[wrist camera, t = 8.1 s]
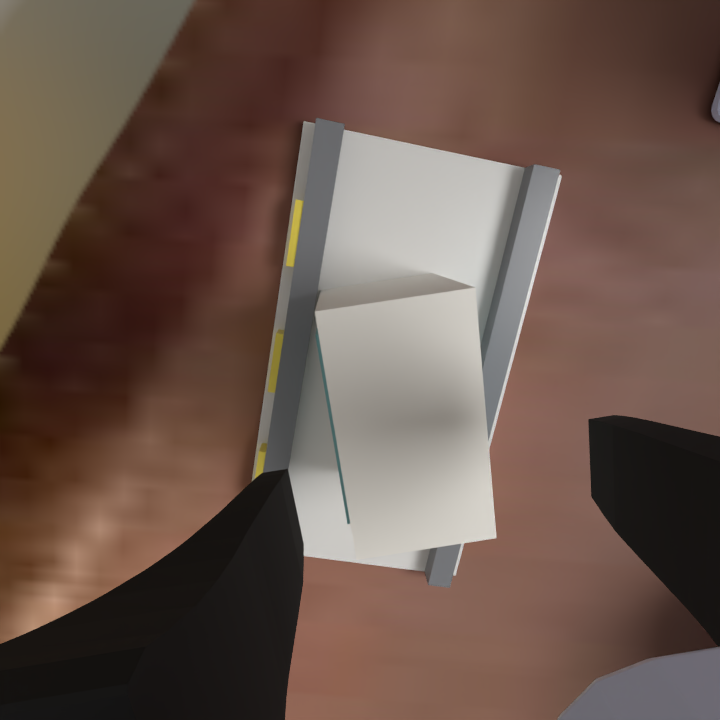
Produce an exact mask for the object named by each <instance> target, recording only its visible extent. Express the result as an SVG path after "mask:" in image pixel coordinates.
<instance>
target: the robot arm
mask: <svg viewBox="0 0 720 720" xmlns="http://www.w3.org/2000/svg"><path fill="white" fill-rule="evenodd" d="M711 113H712V117H713V118H714V119H715V121H717V122H719V123H720V83H719V86H718V89H717V92H716V95H715V98H714V101H713V104H712V110H711ZM589 445H590V471H591V497H592V498H593V500H594V501H595V503H596V504H597V506H598V507H599V509H600V510H601V512H602V513H603V515H604V516H605V517H606V519H607V520H608V522H609V523H610V524H611V526H612V527H613V528H614V530H615V531H616V532H617V533H618V535H619V536H620V537H621V538H622V539H623V540H624V541H625V542H626V543H627V545H628V546H629V547H630V548H631V549H632V550H633V551H634V552H635V553H636V554H637V555H638V557H639V558H640V559H641V560H642V561H643V562H644V563H645V564H646V565H647V566H648V567H649V568H650V569H651V570H652V572H653V573H654V574H655V575H656V576H657V577H658V578H659V579H660V580H661V581H662V582H663V583H664V584H665V585H666V587H667V588H668V589H669V590H670V591H671V592H672V593H673V594H674V595H675V596H676V597H677V598H678V599H679V600H680V602H681V603H682V604H683V605H684V606H685V607H686V608H687V609H688V610H689V611H690V612H691V614H692V615H693V616H694V617H695V618H696V619H697V621H698V622H699V623H700V624H701V625H702V626H703V627H704V629H705V630H706V631H707V632H708V634H709V635H710V636H711V638H712V639H713V640H714V642H715V643H716V644H717V645H718V647H714V648H708V649H702V650H696V651H690V652H684V653H678V654H672V655H666V656H660V657H654V658H648V659H646V660H643V661H640V662H638V663H635V664H633V665H630V666H627V667H625V668H622V669H620V670H617V671H615V672H612V673H609V674H607V675H604V676H602V677H599V678H597V679H595V680H594V681H593V682H592V683H591V684H590V685H589V686H588V687H587V688H586V689H585V690H584V691H583V692H582V693H581V694H580V695H579V696H578V697H577V698H576V699H575V700H574V701H573V702H572V703H571V704H570V705H569V706H568V707H567V708H566V709H565V710H564V711H563V712H562V713H561V714H560V716H559V717H558V719H557V720H720V437H719V436H714V435H710V434H705V433H701V432H696V431H692V430H688V429H683V428H679V427H675V426H670V425H666V424H662V423H657V422H653V421H648V420H643V419H638V418H633V417H627V416H617V415H613V416H606V417H600V418H594V419H589ZM303 566H304V543H303V538H302V533H301V528H300V524H299V519H298V514H297V510H296V505H295V500H294V495H293V491H292V486H291V481H290V476H289V472H288V469H283V470H277V471H270V472H264V473H262V474H260V475H259V476H258V477H256V478H255V479H254V480H253V481H252V482H251V483H250V484H249V485H248V486H247V487H246V488H245V489H244V490H243V491H242V492H241V493H239V494H238V495H237V496H236V497H235V498H234V499H233V500H232V501H231V502H230V503H229V504H228V505H227V506H226V507H225V508H224V509H223V510H222V511H220V512H219V513H218V514H217V515H216V516H215V517H214V518H212V519H211V520H210V521H209V522H208V523H207V524H205V525H204V526H203V527H202V528H201V529H200V530H198V531H197V532H196V533H195V534H194V535H193V536H191V537H190V538H189V539H188V540H187V541H185V542H184V543H183V544H181V545H180V546H179V547H177V548H176V549H175V550H173V551H172V552H171V553H169V554H168V555H166V556H165V557H164V558H162V559H161V560H159V561H158V562H156V563H155V564H154V565H152V566H151V567H149V568H148V569H146V570H145V571H143V572H141V573H140V574H138V575H136V576H135V577H133V578H131V579H130V580H128V581H126V582H125V583H123V584H121V585H120V586H118V587H116V588H115V589H113V590H111V591H109V592H108V593H106V594H104V595H103V596H101V597H99V598H97V599H95V600H94V601H92V602H90V603H88V604H86V605H84V606H82V607H80V608H78V609H76V610H74V611H73V612H70V613H68V614H66V615H64V616H62V617H60V618H58V619H56V620H54V621H52V622H50V623H48V624H46V625H44V626H41V627H39V628H37V629H35V630H33V631H30V632H28V633H26V634H24V635H21V636H19V637H16V638H14V639H11V640H9V641H7V642H4V643H2V644H0V720H285V709H286V696H287V687H288V678H289V671H290V664H291V658H292V652H293V645H294V639H295V632H296V626H297V620H298V613H299V607H300V600H301V593H302V586H303Z"/></svg>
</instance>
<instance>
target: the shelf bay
mask: <svg viewBox="0 0 720 720" xmlns="http://www.w3.org/2000/svg"><path fill="white" fill-rule="evenodd" d="M344 125H345V124H343V123H338V122H333V121H328V120H324V119H319V118H316V123H310V122H306V121H304V123H303V129H302V136H301V143H300V150H299V157H298V164H297V171H296V178H295V185H294V192H293V199H292V205H291V212H290V219H289V226H288V233H287V240H286V247H285V254H284V261H283V268H282V274H281V281H280V288H279V295H278V302H277V309H276V316H275V323H274V330H273V337H272V344H271V350H270V357H269V364H268V371H267V378H266V385H265V392H264V399H263V406H262V413H261V420H260V426H259V433H258V440H257V447H256V454H255V461H254V468H253V475H252V481H253V480H254V479H255V478H256V477H258V476H259V475H260V474H262V473H264V472H270V471H277V470H283V469H288V472H289V476H290V481H291V486H292V491H293V495H294V500H295V505H296V510H297V514H298V519H299V524H300V528H301V533H302V538H303V543H304V556H309V557H316V558H324V559H332V560H340V561H347V562H355V563H363V564H370V565H378V566H386V567H394V568H401V569H409V570H417V571H425V575H426V579H427V582H428V585H433V586H441V587H449V588H450V584H451V581H452V577H453V575H455V576H456V572H457V568H458V564H459V561H460V557H461V553H462V549H463V546H464V543H462V544H455V545H449V546H443V547H436V548H430V549H424V550H417V551H411V552H404V553H398V554H392V555H385V556H379V557H373V558H366V559H360V560H356V554H355V548H354V542H353V536H352V530H351V524H347V519H346V513H345V507H344V501H343V495H342V489H341V483H340V477H339V472H338V466H337V460H336V454H335V448H334V442H333V436H332V430H331V425H330V419H329V413H328V407H327V401H326V395H325V389H324V383H323V378H322V372H321V366H320V360H319V354H318V348H317V342H316V336H315V334H316V329H317V323H316V317H315V309H316V305H317V302H318V299H319V295H320V292H321V290H324V289H331V288H337V287H344V286H351V285H357V284H364V283H371V282H377V281H384V280H391V279H397V278H404V277H411V276H417V275H424V274H431V273H434V274H437V275H440V276H443V277H446V278H449V279H452V280H455V281H458V282H461V283H464V284H467V285H470V286H473V287H475V288H476V300H477V312H478V324H479V336H480V348H481V360H482V372H483V384H484V396H485V407H486V419H487V431H488V443H489V448H490V444H491V440H492V437H493V433H494V429H495V425H496V422H497V418H498V414H499V410H500V407H501V403H502V399H503V395H504V392H505V388H506V384H507V380H508V377H509V373H510V369H511V365H512V362H513V358H514V354H515V350H516V347H517V343H518V339H519V335H520V332H521V328H522V324H523V320H524V317H525V313H526V309H527V305H528V302H529V298H530V294H531V290H532V287H533V283H534V279H535V275H536V272H537V268H538V264H539V260H540V257H541V253H542V249H543V245H544V242H545V238H546V234H547V230H548V227H549V223H550V219H551V215H552V211H553V208H554V204H555V200H556V196H557V193H558V189H559V185H560V181H561V178H562V176H561V175H559V173H560V170H559V169H554V168H550V167H545V166H540V165H535V164H534V165H531V166H529V167H526V168H523V167H518V166H514V165H509V164H504V163H499V162H495V161H490V160H485V159H480V158H476V157H471V156H466V155H462V154H457V153H452V152H447V151H443V150H438V149H433V148H428V147H424V146H419V145H414V144H410V143H405V142H400V141H395V140H391V139H386V138H381V137H376V136H372V135H367V134H362V133H358V132H353V131H348V130H344Z"/></svg>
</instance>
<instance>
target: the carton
mask: <svg viewBox="0 0 720 720" xmlns="http://www.w3.org/2000/svg"><path fill="white" fill-rule="evenodd" d="M315 317H316V323H317V329H316V334H315V336H316V342H317V348H318V354H319V360H320V366H321V372H322V378H323V383H324V389H325V395H326V401H327V407H328V413H329V419H330V425H331V430H332V436H333V442H334V448H335V454H336V460H337V466H338V472H339V477H340V483H341V489H342V495H343V501H344V507H345V513H346V519H347V524H351V530H352V536H353V542H354V548H355V554H356V560H360V559H366V558H373V557H379V556H385V555H392V554H398V553H404V552H411V551H417V550H424V549H430V548H436V547H443V546H449V545H455V544H462V543H468V542H475V541H481V540H487V539H494V538H496V527H495V515H494V503H493V491H492V479H491V467H490V455H489V443H488V431H487V419H486V407H485V396H484V384H483V372H482V360H481V348H480V336H479V324H478V312H477V300H476V288H475V287H473V286H470V285H467V284H464V283H461V282H458V281H455V280H452V279H449V278H446V277H443V276H440V275H437V274H434V273H431V274H424V275H417V276H411V277H404V278H397V279H391V280H384V281H377V282H371V283H364V284H357V285H351V286H344V287H337V288H331V289H324V290H321V292H320V295H319V299H318V302H317V305H316V309H315Z"/></svg>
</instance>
